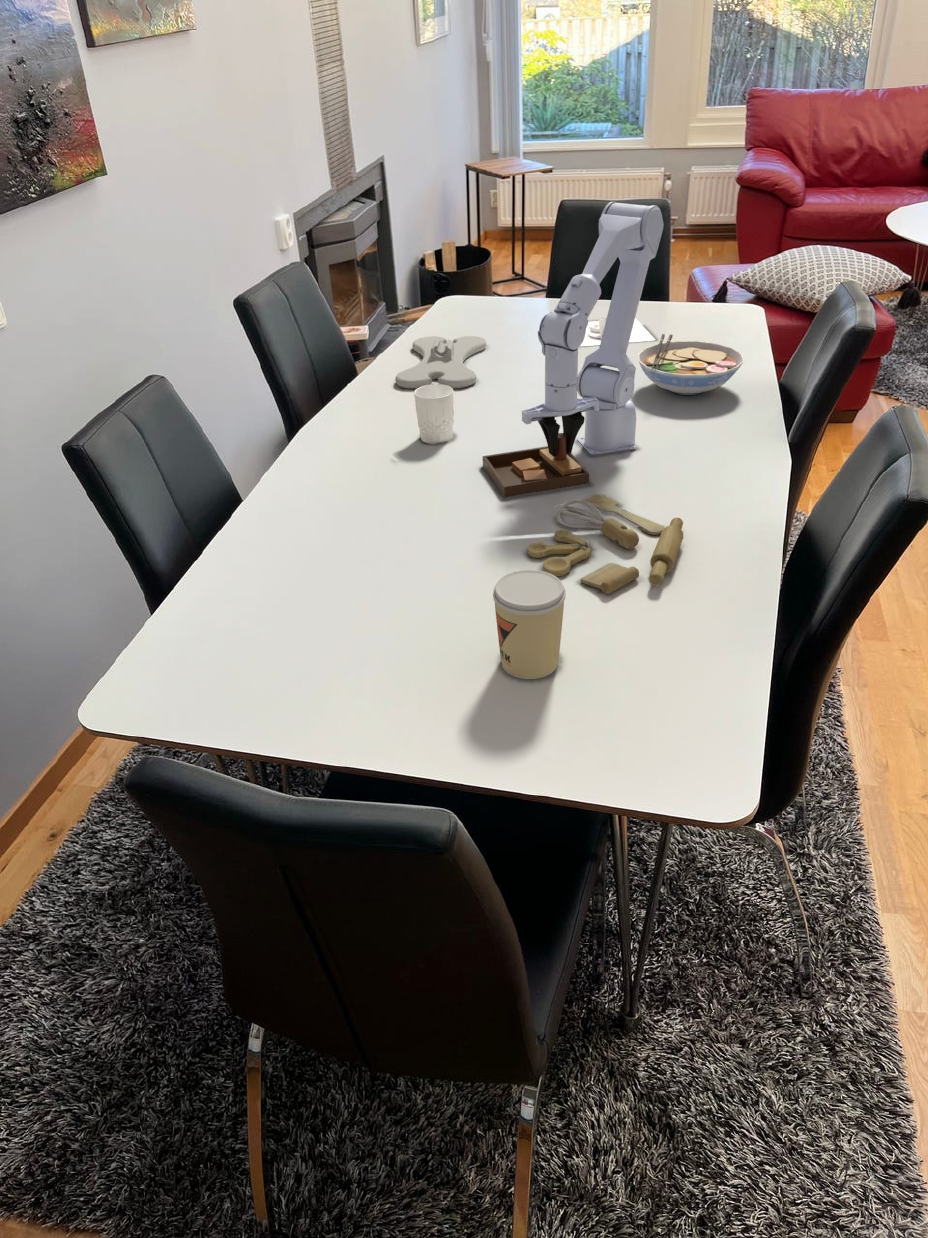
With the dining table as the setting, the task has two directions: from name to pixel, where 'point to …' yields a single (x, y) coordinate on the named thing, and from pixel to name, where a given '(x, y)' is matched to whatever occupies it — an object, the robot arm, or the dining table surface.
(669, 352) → the ramen bowl
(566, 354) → the robot arm
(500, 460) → the tray
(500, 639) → the lidded cream canister
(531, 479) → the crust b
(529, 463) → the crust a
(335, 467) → the dining table surface
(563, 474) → the wooden stamp
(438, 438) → the white cup
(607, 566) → the toy baking set
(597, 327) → the teacup and saucer
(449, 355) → the holder
